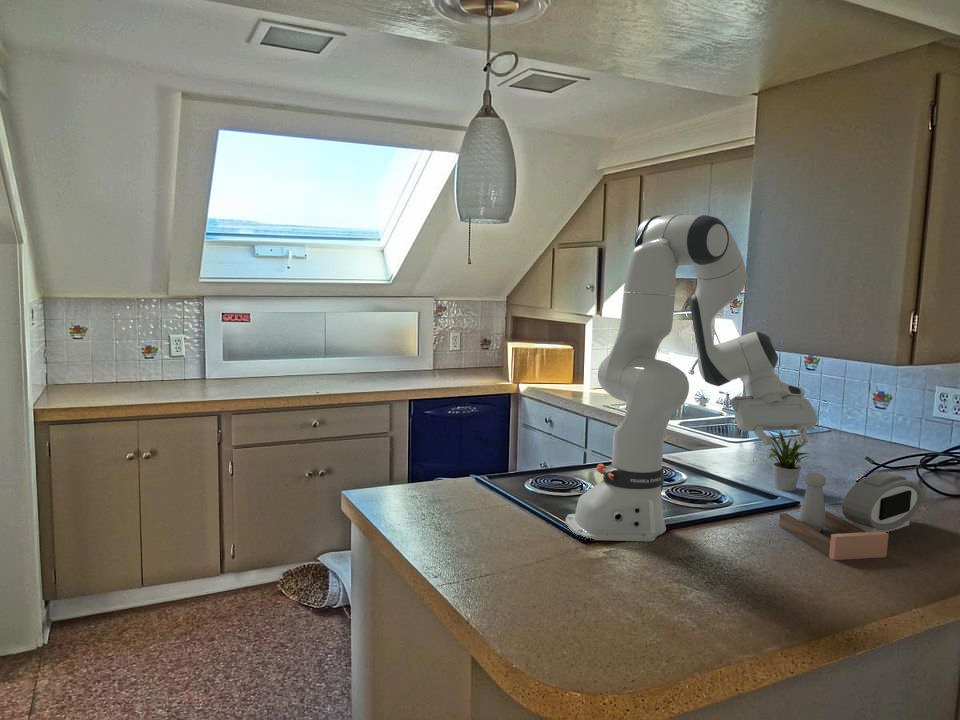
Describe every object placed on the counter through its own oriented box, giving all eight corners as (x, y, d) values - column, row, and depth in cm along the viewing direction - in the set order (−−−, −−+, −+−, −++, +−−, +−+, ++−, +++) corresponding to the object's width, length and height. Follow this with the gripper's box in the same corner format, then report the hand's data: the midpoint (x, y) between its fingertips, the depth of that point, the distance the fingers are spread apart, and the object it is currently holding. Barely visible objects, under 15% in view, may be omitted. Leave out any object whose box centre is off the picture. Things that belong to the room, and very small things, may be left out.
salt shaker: (827, 535, 165) (832, 479, 164) (800, 533, 166) (805, 477, 165) (821, 526, 171) (826, 471, 169) (794, 524, 172) (799, 469, 170)
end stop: (833, 560, 152) (835, 536, 151) (829, 557, 153) (831, 534, 152) (886, 557, 154) (888, 534, 153) (881, 554, 155) (883, 531, 155)
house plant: (741, 485, 201) (746, 427, 198) (767, 476, 210) (771, 420, 208) (793, 499, 190) (798, 437, 188) (817, 488, 199) (822, 429, 197)
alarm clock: (866, 542, 162) (871, 486, 160) (839, 533, 167) (844, 478, 165) (920, 523, 174) (926, 471, 173) (893, 515, 179) (899, 464, 178)
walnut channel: (829, 557, 153) (830, 543, 153) (779, 526, 171) (780, 513, 170) (881, 554, 155) (882, 540, 155) (826, 523, 173) (827, 511, 172)
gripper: (733, 389, 182) (752, 438, 174) (808, 388, 185) (830, 436, 177) (723, 403, 187) (741, 451, 179) (796, 402, 190) (817, 449, 182)
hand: (786, 443), depth 178 cm, fingers open, 8 cm apart
